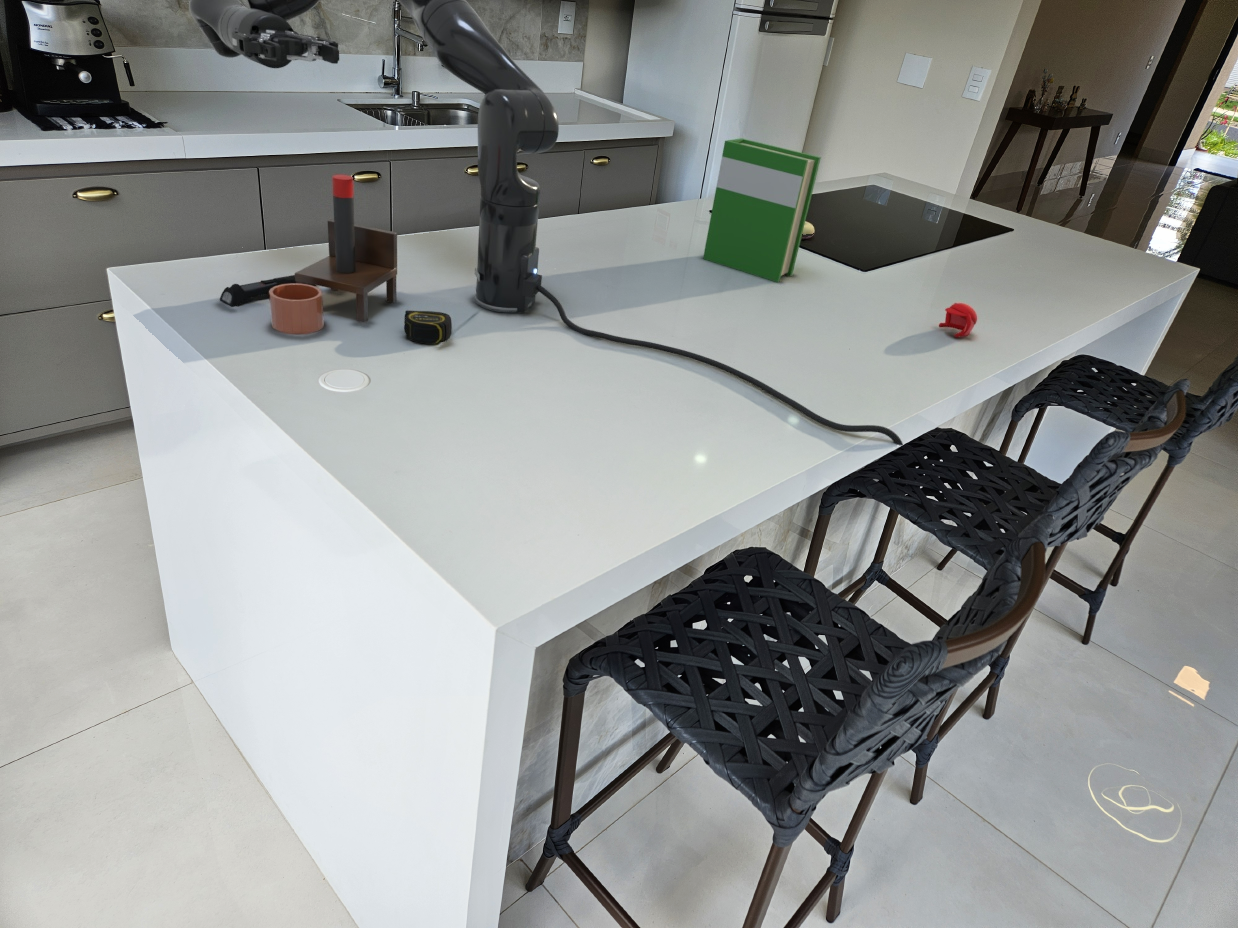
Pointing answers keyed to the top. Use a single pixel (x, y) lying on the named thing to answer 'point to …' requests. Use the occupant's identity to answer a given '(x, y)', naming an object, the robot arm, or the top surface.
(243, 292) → the electric trimmer
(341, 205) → the marker
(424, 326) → the tape measure
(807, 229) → the donut
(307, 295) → the pen pot
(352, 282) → the chair
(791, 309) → the top surface
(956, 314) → the red toy helmet
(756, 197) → the hardback book
